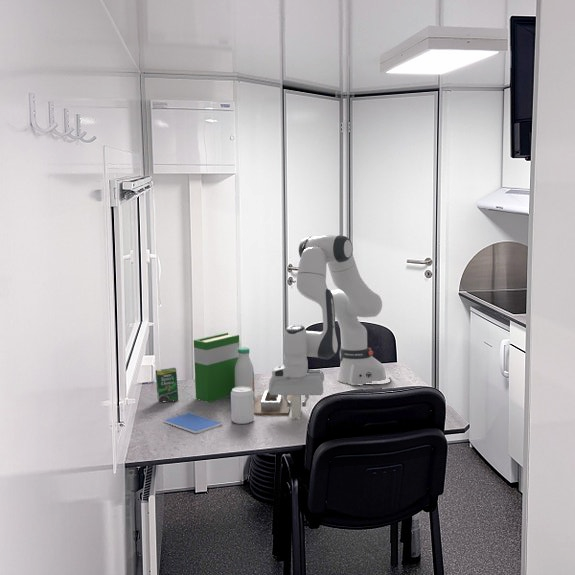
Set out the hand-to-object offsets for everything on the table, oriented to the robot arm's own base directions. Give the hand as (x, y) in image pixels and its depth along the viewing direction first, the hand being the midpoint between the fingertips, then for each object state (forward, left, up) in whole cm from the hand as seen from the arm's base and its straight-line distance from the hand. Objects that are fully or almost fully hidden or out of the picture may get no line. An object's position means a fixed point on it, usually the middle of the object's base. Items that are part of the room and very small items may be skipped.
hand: (296, 406), depth 277 cm
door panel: (0, 0, -3) cm, 3 cm away
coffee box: (+52, -15, -3) cm, 54 cm away
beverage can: (+19, +8, -3) cm, 21 cm away
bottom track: (+10, -10, -3) cm, 14 cm away
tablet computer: (+37, +11, -4) cm, 39 cm away
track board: (+10, -10, -3) cm, 14 cm away
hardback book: (+33, -23, -3) cm, 40 cm away
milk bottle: (+22, -21, -3) cm, 31 cm away
